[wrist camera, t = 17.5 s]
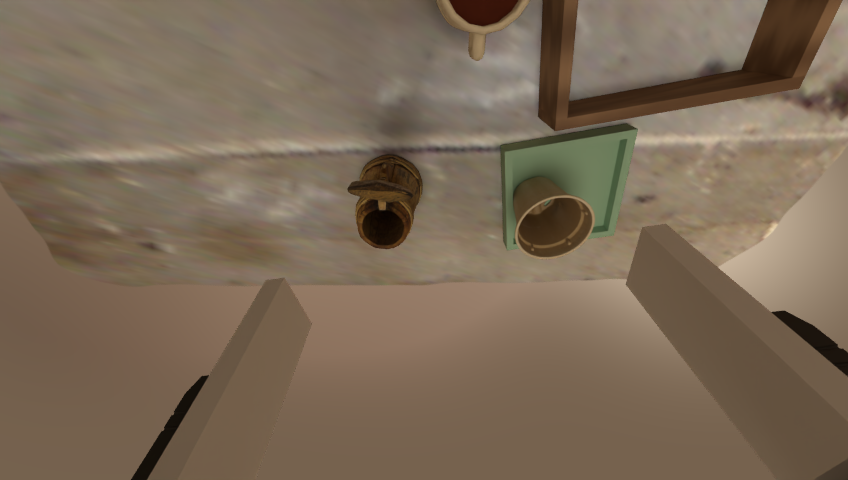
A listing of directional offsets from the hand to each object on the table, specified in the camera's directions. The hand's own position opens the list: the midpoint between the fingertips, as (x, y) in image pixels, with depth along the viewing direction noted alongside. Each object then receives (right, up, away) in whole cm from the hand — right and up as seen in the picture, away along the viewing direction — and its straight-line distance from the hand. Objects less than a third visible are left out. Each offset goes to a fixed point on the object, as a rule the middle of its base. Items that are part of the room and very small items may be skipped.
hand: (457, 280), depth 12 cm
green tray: (+18, +9, +33) cm, 39 cm away
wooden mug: (-6, +11, +31) cm, 34 cm away
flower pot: (+15, +8, +33) cm, 36 cm away
